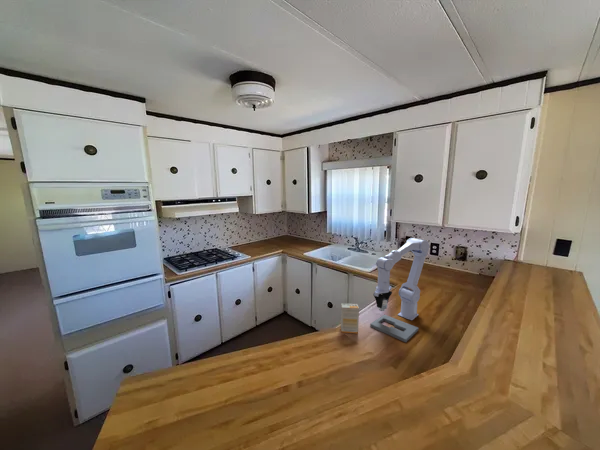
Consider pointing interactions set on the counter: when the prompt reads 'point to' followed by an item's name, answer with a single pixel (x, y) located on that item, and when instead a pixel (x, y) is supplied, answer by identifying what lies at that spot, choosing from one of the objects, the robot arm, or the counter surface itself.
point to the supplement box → (349, 318)
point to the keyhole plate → (403, 336)
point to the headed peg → (383, 305)
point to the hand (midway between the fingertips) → (382, 305)
